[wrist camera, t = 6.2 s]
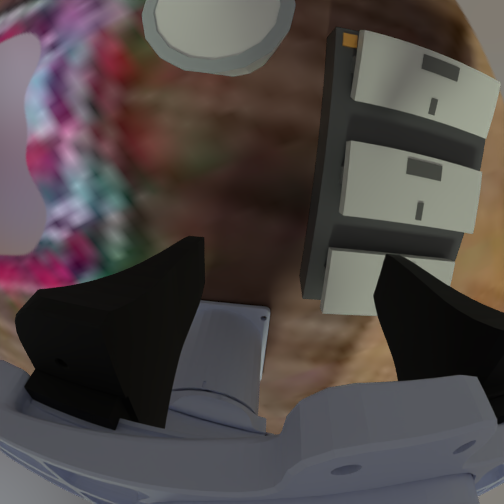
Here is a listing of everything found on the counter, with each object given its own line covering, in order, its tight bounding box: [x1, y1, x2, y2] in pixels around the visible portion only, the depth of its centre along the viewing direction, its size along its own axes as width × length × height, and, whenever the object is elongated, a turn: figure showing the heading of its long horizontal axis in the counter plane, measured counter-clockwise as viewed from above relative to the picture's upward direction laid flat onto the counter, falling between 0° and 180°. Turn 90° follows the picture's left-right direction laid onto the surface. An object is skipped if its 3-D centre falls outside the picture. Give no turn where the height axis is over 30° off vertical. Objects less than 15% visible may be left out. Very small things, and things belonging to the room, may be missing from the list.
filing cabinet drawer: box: [339, 141, 482, 234], centre depth 15 cm, size 4×9×1 cm, turn 86°
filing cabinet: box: [299, 27, 485, 300], centre depth 17 cm, size 18×11×4 cm, turn 176°
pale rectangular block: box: [320, 247, 455, 316], centre depth 18 cm, size 4×9×1 cm, turn 86°
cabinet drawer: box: [350, 30, 501, 139], centre depth 12 cm, size 4×9×1 cm, turn 87°
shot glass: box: [142, 0, 296, 77], centre depth 12 cm, size 7×7×7 cm
